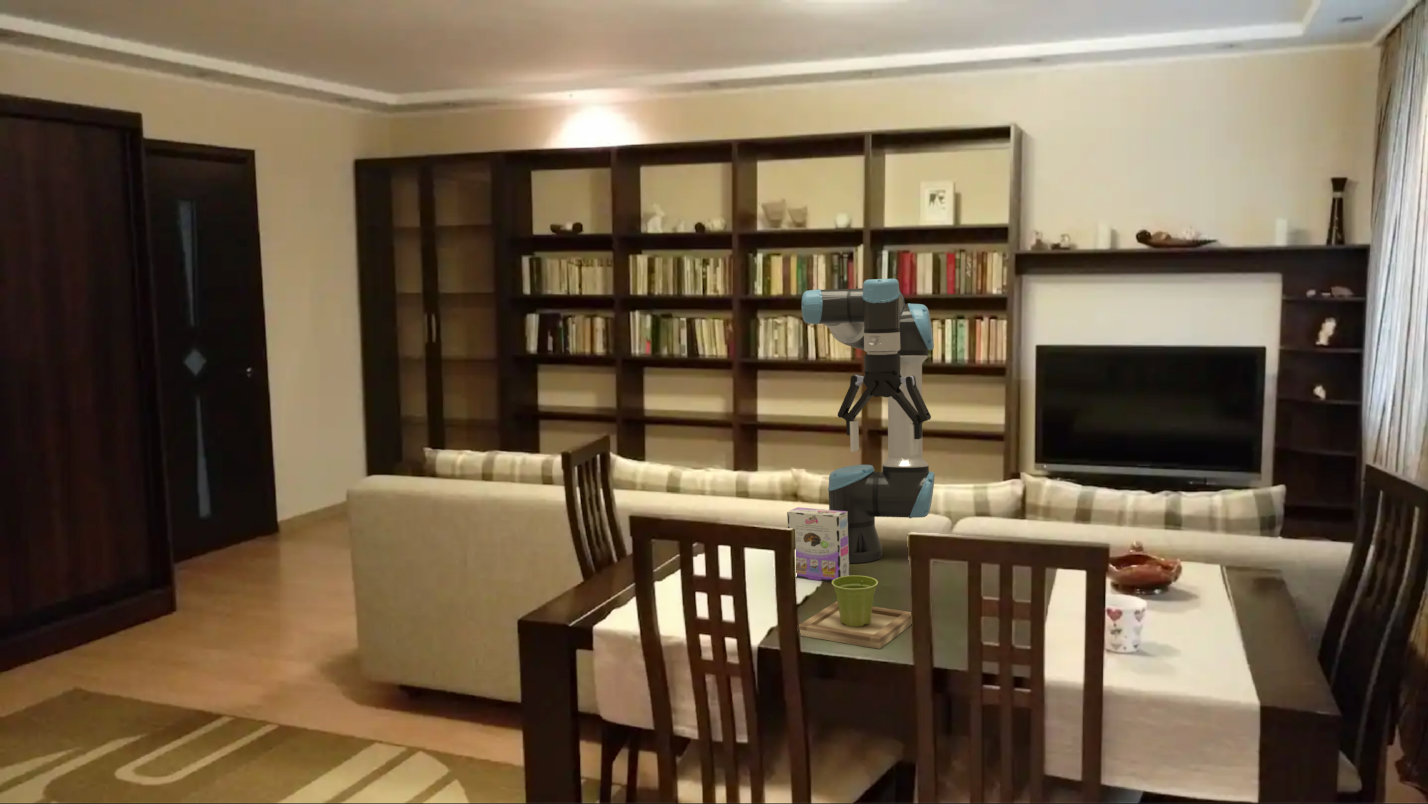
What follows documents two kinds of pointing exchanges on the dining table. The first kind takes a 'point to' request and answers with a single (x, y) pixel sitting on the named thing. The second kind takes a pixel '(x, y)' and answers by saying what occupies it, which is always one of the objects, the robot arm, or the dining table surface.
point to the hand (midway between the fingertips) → (884, 452)
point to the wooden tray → (871, 635)
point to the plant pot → (855, 599)
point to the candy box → (820, 543)
